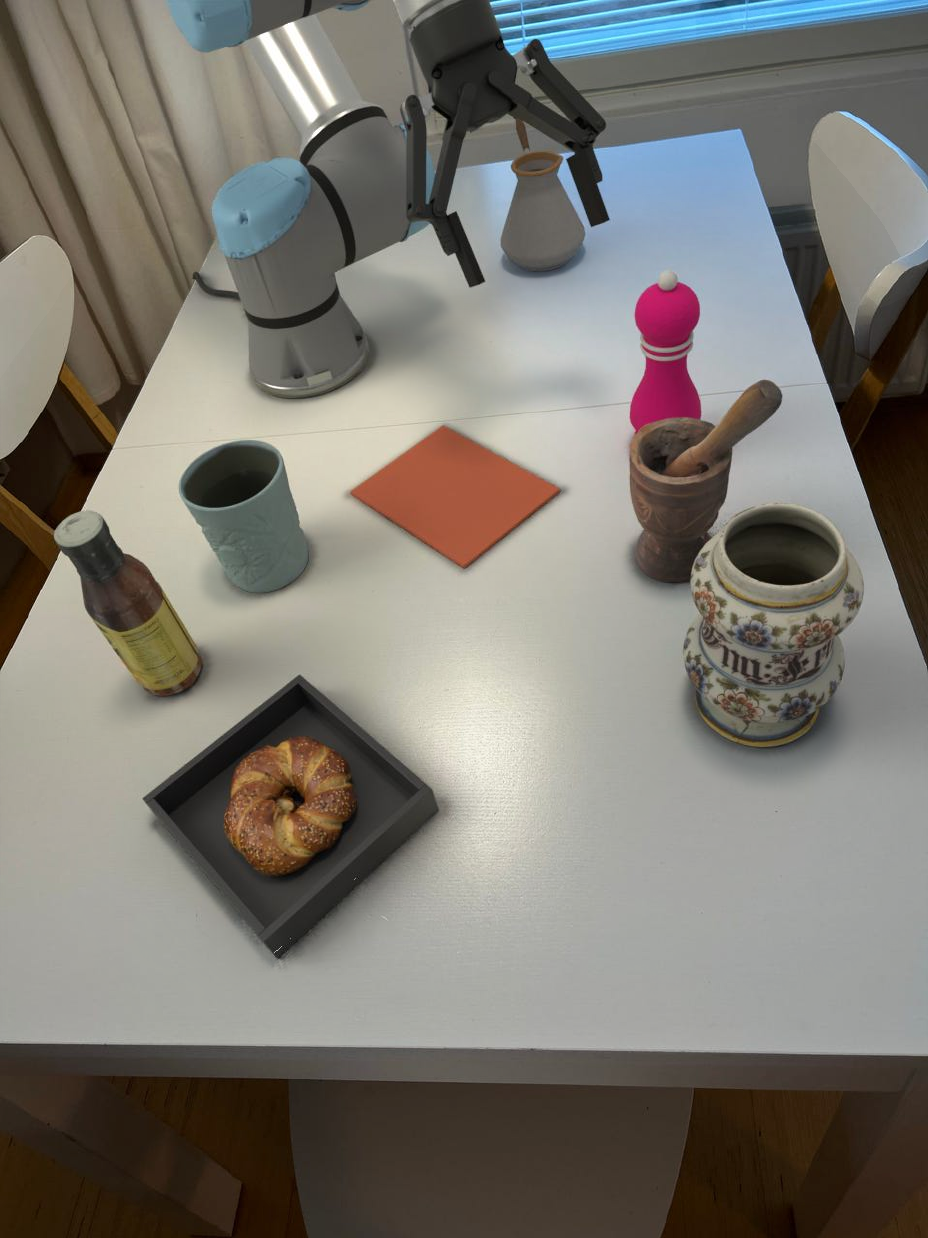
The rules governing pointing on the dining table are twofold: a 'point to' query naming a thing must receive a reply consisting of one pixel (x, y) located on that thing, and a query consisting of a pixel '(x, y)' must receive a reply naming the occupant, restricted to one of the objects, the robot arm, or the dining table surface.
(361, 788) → the tray
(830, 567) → the apothecary jar
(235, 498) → the light blue ceramic cup
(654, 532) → the mortar and pestle
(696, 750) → the dining table surface
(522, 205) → the coffee pot
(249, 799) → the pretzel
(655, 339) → the pepper mill
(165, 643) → the sauce bottle
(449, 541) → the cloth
